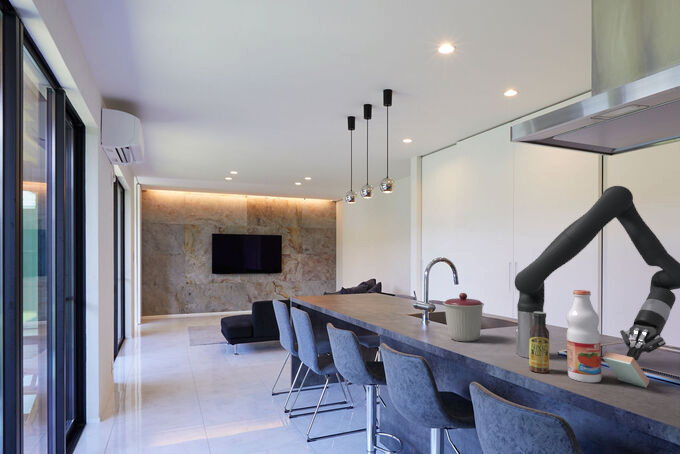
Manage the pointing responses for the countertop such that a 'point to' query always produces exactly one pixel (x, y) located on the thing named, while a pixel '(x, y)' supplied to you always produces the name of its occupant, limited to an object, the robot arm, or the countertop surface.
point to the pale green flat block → (626, 369)
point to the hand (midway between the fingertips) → (631, 359)
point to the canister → (463, 318)
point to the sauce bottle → (539, 344)
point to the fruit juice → (583, 340)
